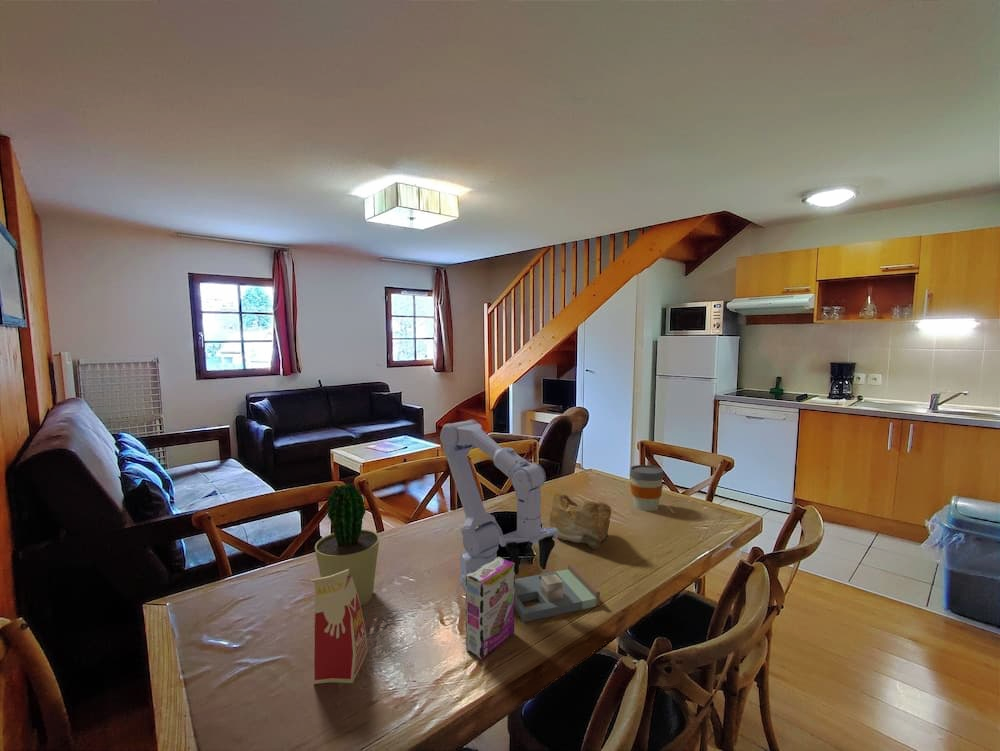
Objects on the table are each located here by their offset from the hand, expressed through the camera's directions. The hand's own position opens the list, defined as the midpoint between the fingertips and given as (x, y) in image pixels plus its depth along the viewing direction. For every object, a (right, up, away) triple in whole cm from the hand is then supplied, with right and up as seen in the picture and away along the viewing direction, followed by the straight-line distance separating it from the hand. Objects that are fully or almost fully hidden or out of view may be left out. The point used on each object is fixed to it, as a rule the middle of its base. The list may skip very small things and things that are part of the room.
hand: (529, 569), depth 108 cm
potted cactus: (-45, -10, +5) cm, 47 cm away
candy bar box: (-9, -11, -12) cm, 18 cm away
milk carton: (-39, -11, -19) cm, 45 cm away
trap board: (+5, -9, +5) cm, 12 cm away
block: (+6, -7, +2) cm, 10 cm away
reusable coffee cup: (+50, -5, +67) cm, 84 cm away
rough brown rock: (+22, -7, +38) cm, 45 cm away
